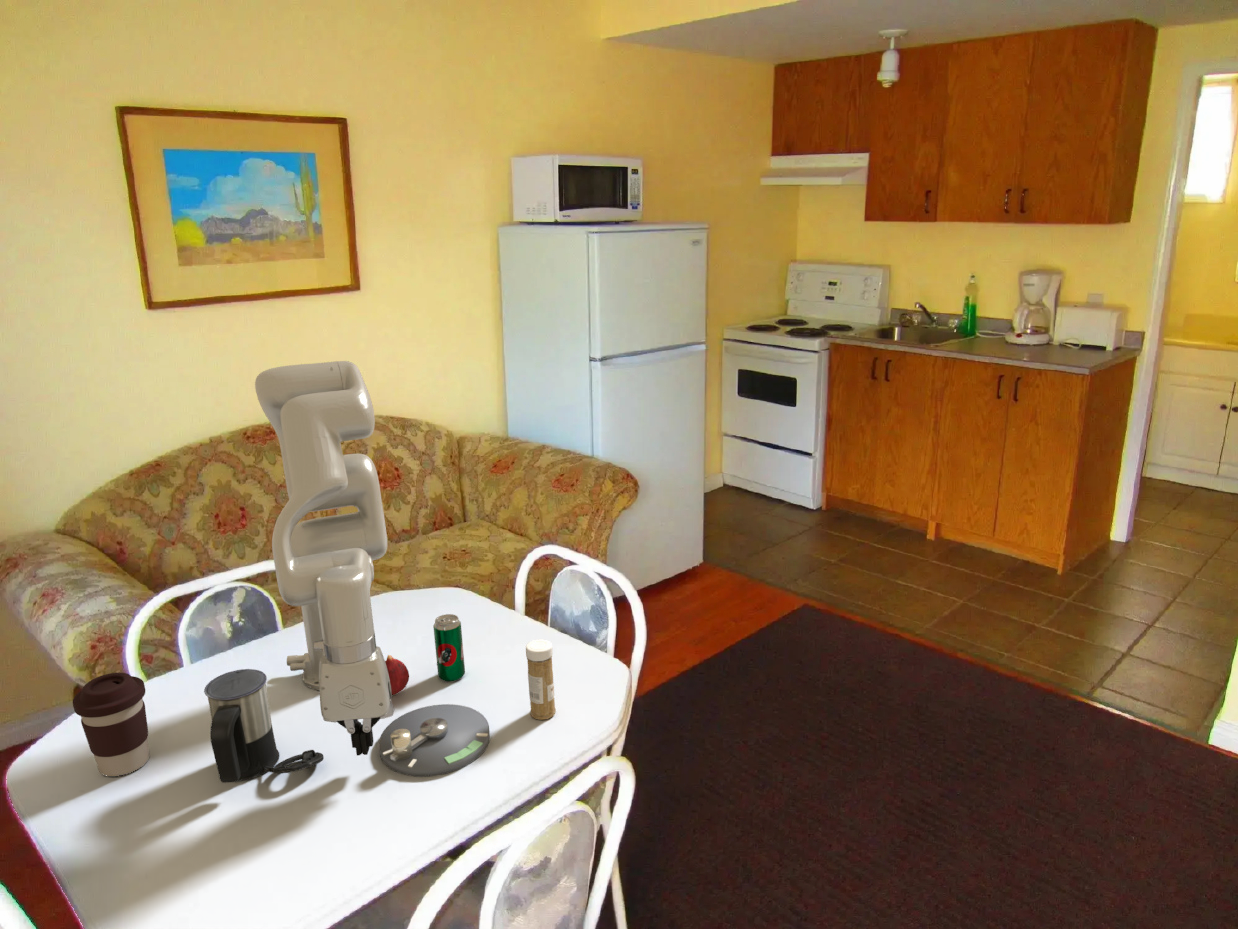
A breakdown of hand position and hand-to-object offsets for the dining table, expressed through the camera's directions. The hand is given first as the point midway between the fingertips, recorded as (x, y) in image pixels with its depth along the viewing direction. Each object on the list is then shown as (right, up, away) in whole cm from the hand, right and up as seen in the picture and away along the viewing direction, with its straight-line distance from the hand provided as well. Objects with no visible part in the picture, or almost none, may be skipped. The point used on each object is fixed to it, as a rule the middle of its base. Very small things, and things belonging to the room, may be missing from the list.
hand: (363, 749), depth 137 cm
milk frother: (-16, -4, +2) cm, 16 cm away
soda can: (+9, +5, +28) cm, 29 cm away
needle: (+8, 0, +4) cm, 9 cm away
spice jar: (+27, +1, +15) cm, 31 cm away
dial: (+10, -1, +8) cm, 12 cm away
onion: (-1, +3, +22) cm, 22 cm away
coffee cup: (-40, -4, +4) cm, 40 cm away
